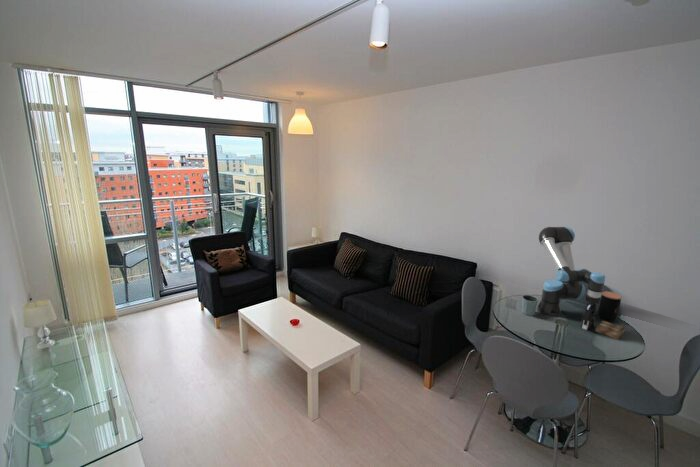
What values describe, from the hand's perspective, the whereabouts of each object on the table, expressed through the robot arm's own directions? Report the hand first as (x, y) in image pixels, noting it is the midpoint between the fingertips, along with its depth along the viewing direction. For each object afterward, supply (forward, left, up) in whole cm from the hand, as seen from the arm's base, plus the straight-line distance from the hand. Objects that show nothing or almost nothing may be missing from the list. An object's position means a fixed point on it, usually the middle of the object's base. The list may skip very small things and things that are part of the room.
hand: (586, 326), depth 216 cm
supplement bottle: (0, 0, -1) cm, 1 cm away
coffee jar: (+4, +25, -1) cm, 25 cm away
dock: (+11, +6, -1) cm, 13 cm away
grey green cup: (-33, -11, -1) cm, 35 cm away
